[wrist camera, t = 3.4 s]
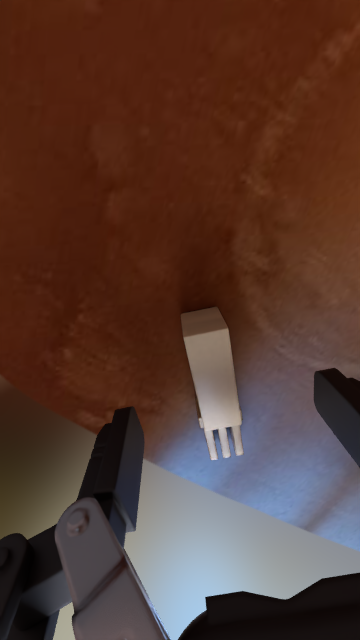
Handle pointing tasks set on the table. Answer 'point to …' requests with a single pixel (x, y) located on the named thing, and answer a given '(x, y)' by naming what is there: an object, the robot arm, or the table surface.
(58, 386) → the table surface
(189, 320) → the fork
